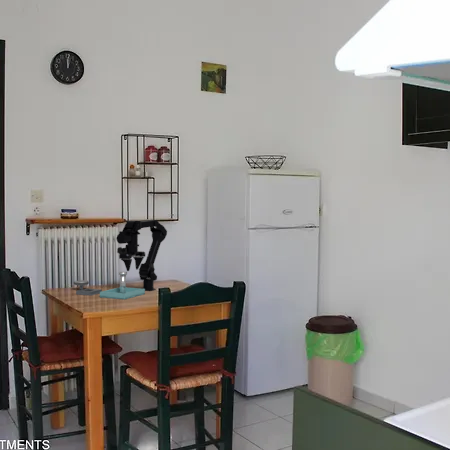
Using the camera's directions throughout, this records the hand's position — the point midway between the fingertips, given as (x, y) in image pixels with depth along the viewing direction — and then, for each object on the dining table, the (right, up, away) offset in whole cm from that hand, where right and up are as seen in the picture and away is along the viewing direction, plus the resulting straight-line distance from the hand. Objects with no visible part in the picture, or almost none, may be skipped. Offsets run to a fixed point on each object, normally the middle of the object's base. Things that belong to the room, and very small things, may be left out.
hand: (132, 270), depth 324 cm
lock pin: (-4, -12, -9) cm, 16 cm away
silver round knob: (-32, -12, +12) cm, 36 cm away
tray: (-4, -13, -9) cm, 16 cm away
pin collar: (-24, -13, -2) cm, 27 cm away
